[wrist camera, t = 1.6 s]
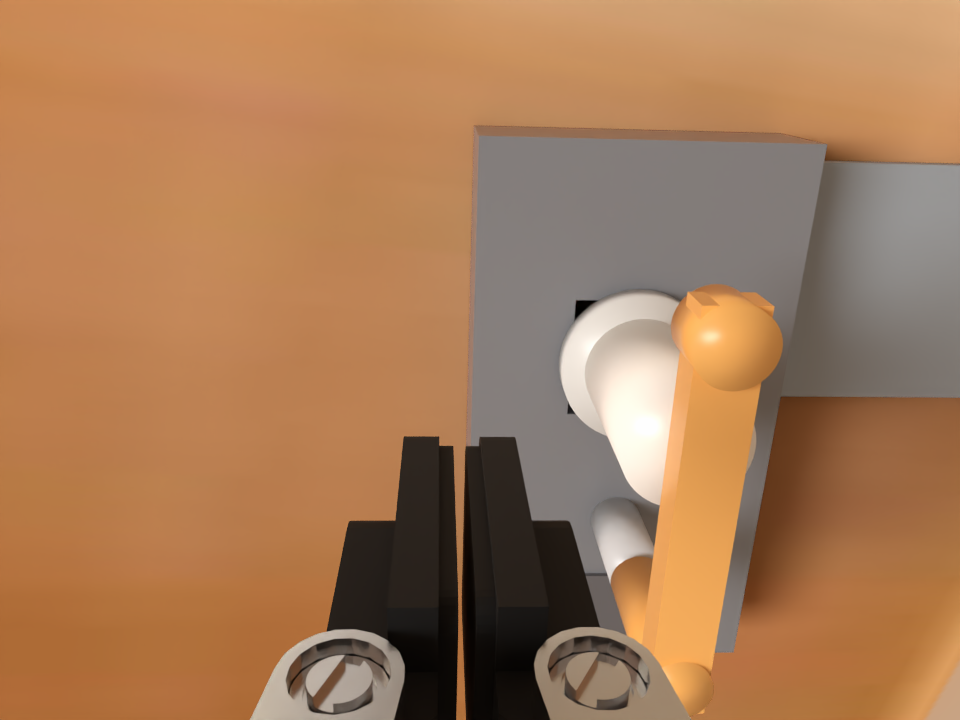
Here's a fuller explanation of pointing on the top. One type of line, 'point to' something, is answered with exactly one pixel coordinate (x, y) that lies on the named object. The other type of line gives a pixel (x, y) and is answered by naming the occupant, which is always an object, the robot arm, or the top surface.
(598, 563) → the grey slab
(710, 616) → the clip
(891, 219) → the mat
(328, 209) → the top surface
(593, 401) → the knob
